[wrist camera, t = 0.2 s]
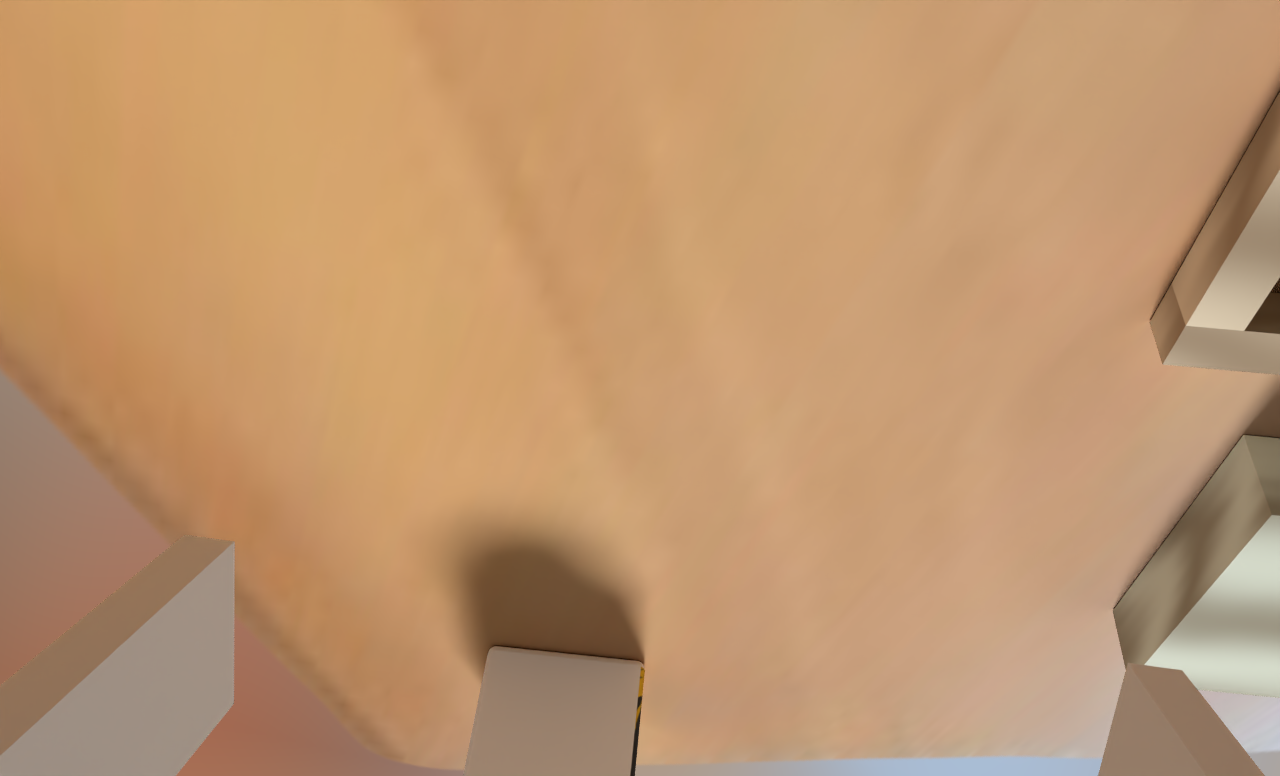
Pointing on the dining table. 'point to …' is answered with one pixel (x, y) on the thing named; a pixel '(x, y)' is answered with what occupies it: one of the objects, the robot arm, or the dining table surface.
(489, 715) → the medicine bottle
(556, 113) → the dining table surface
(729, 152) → the dining table surface
